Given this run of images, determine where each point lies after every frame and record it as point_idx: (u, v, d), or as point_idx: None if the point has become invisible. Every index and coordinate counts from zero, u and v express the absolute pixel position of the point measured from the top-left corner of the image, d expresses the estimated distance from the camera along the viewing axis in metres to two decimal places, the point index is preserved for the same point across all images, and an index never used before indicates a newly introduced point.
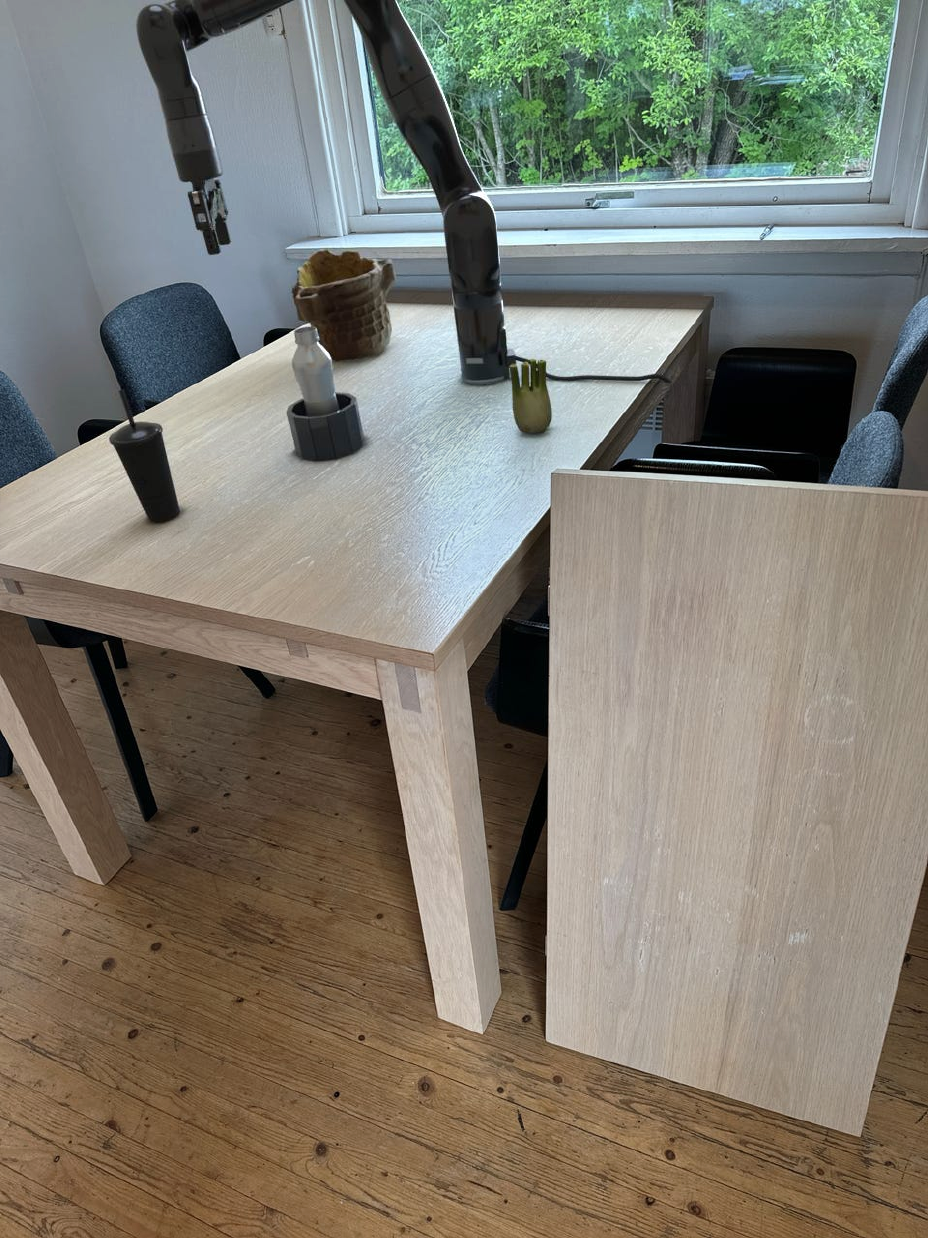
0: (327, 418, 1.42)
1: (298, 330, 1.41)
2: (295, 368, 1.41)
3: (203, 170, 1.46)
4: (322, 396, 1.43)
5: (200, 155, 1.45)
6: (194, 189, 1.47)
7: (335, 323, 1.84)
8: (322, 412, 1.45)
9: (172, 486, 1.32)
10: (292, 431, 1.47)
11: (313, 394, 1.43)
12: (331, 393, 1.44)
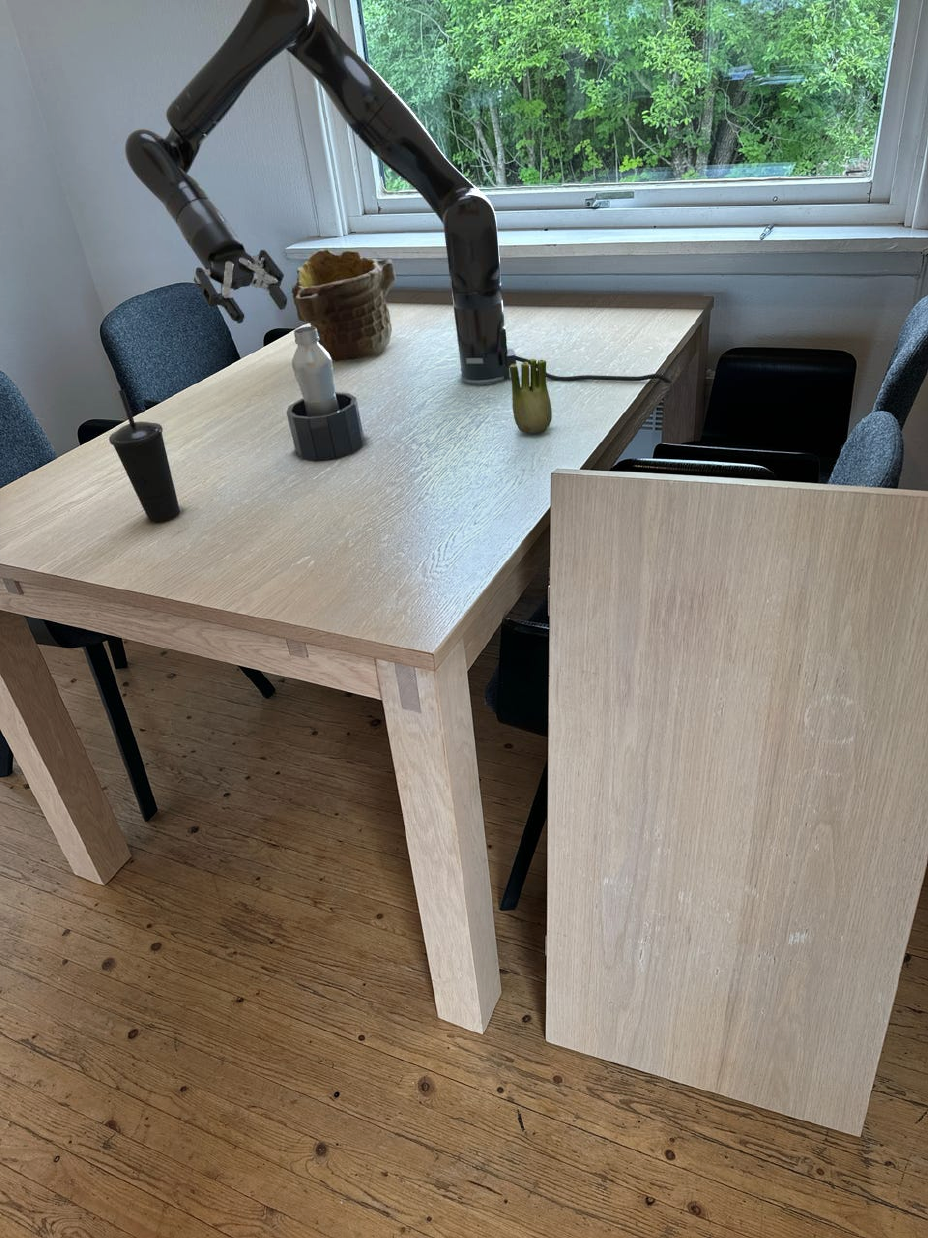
0: (327, 418, 1.42)
1: (298, 330, 1.41)
2: (295, 368, 1.41)
3: (204, 249, 1.43)
4: (322, 396, 1.43)
5: (197, 238, 1.44)
6: None
7: (335, 323, 1.84)
8: (322, 412, 1.45)
9: (172, 486, 1.32)
10: (292, 431, 1.47)
11: (313, 394, 1.43)
12: (331, 393, 1.44)
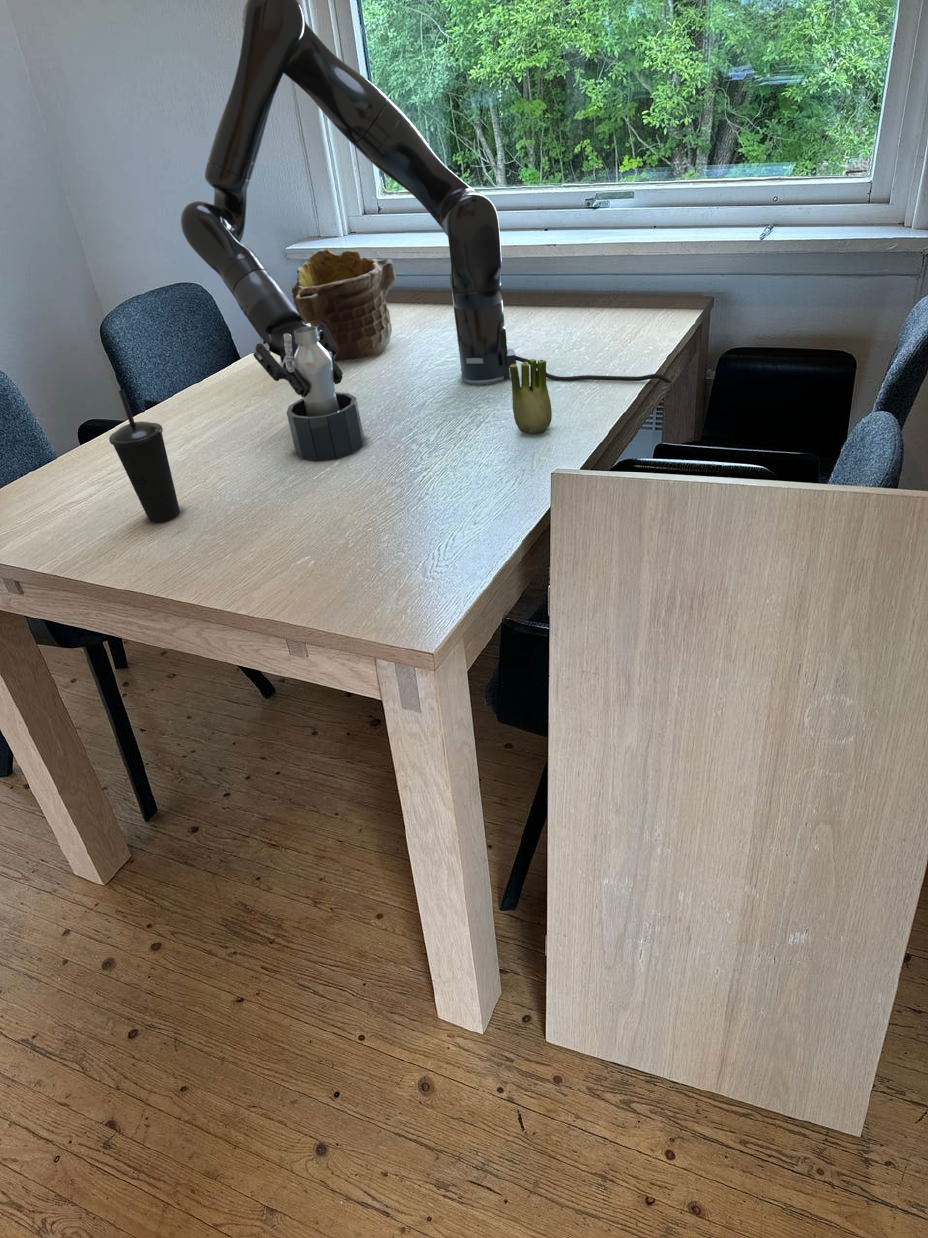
0: (327, 418, 1.42)
1: (298, 330, 1.41)
2: (295, 368, 1.41)
3: (262, 322, 1.41)
4: (322, 396, 1.43)
5: (255, 310, 1.41)
6: None
7: (335, 323, 1.84)
8: (322, 412, 1.45)
9: (172, 486, 1.32)
10: (292, 431, 1.47)
11: (314, 394, 1.43)
12: (331, 393, 1.44)
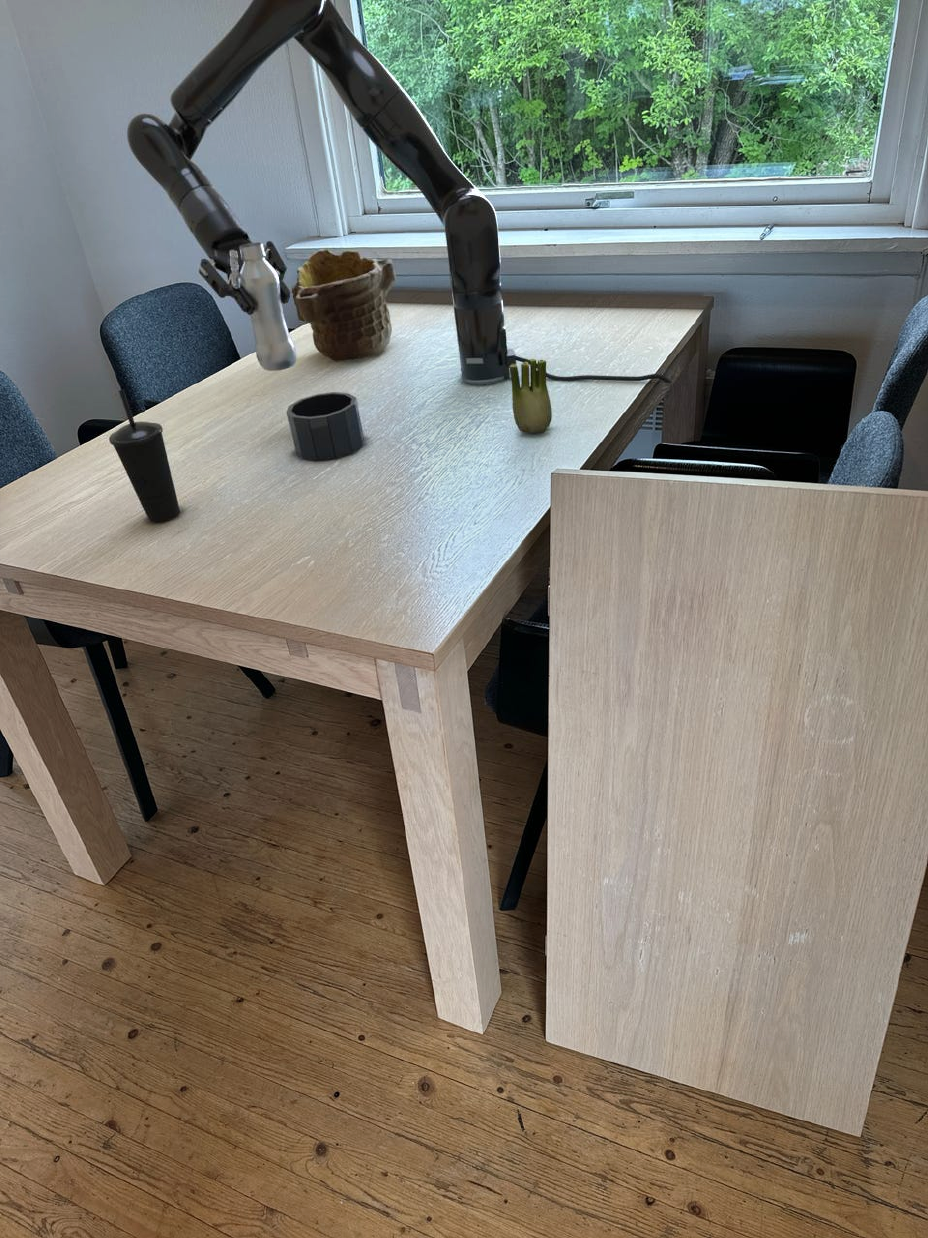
0: (327, 418, 1.42)
1: (244, 246, 1.39)
2: (241, 284, 1.40)
3: (207, 237, 1.40)
4: (269, 314, 1.42)
5: (200, 226, 1.40)
6: None
7: (335, 323, 1.84)
8: (270, 331, 1.43)
9: (172, 486, 1.32)
10: (292, 431, 1.47)
11: (260, 312, 1.42)
12: (278, 312, 1.43)
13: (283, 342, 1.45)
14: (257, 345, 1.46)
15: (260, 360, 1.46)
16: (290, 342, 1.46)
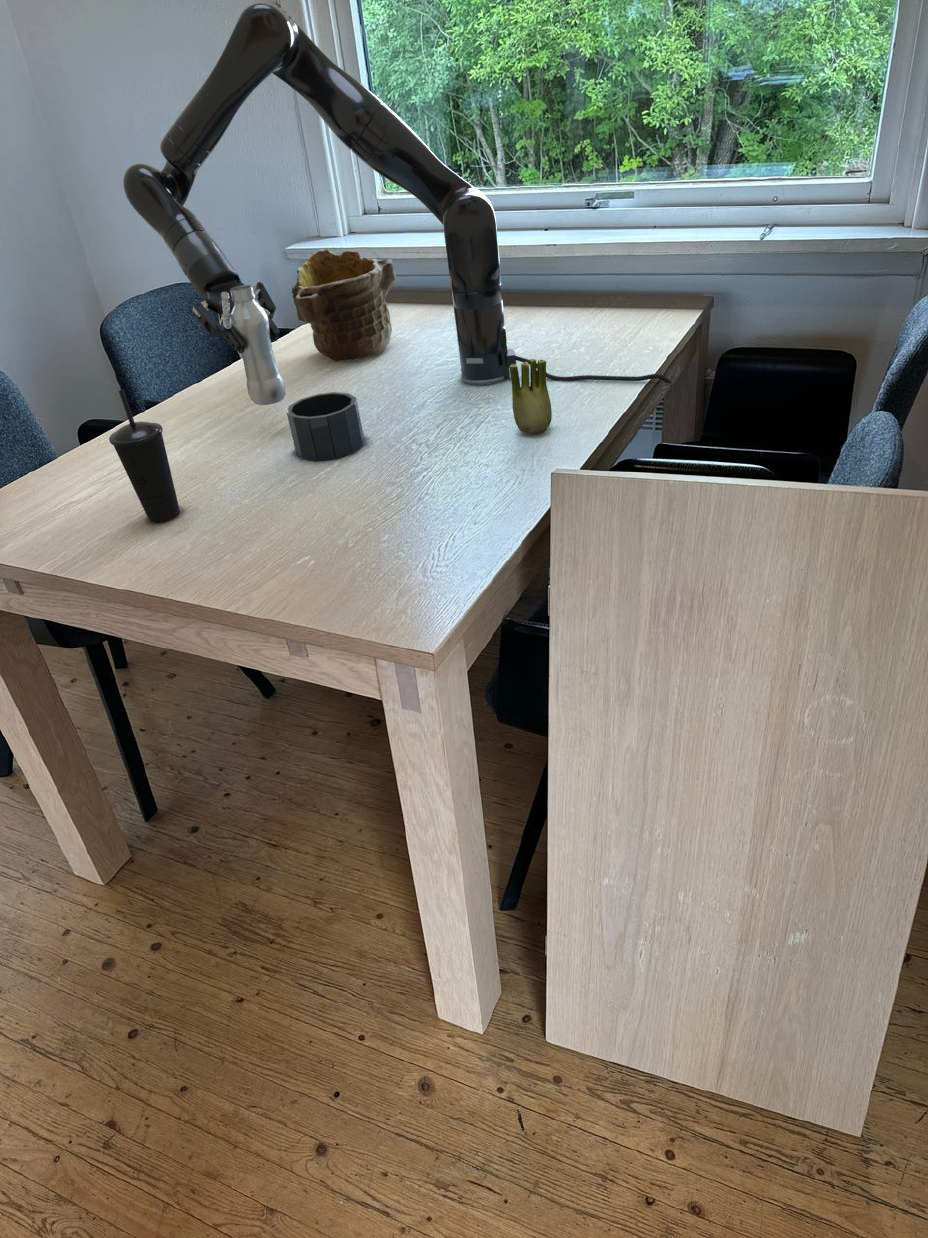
0: (327, 418, 1.42)
1: (235, 288, 1.46)
2: (232, 325, 1.47)
3: (200, 280, 1.47)
4: (259, 352, 1.49)
5: (193, 269, 1.47)
6: None
7: (335, 323, 1.84)
8: (260, 368, 1.51)
9: (172, 486, 1.32)
10: (292, 431, 1.47)
11: (250, 351, 1.49)
12: (268, 350, 1.50)
13: (273, 378, 1.52)
14: (248, 381, 1.53)
15: (251, 395, 1.54)
16: (279, 378, 1.53)
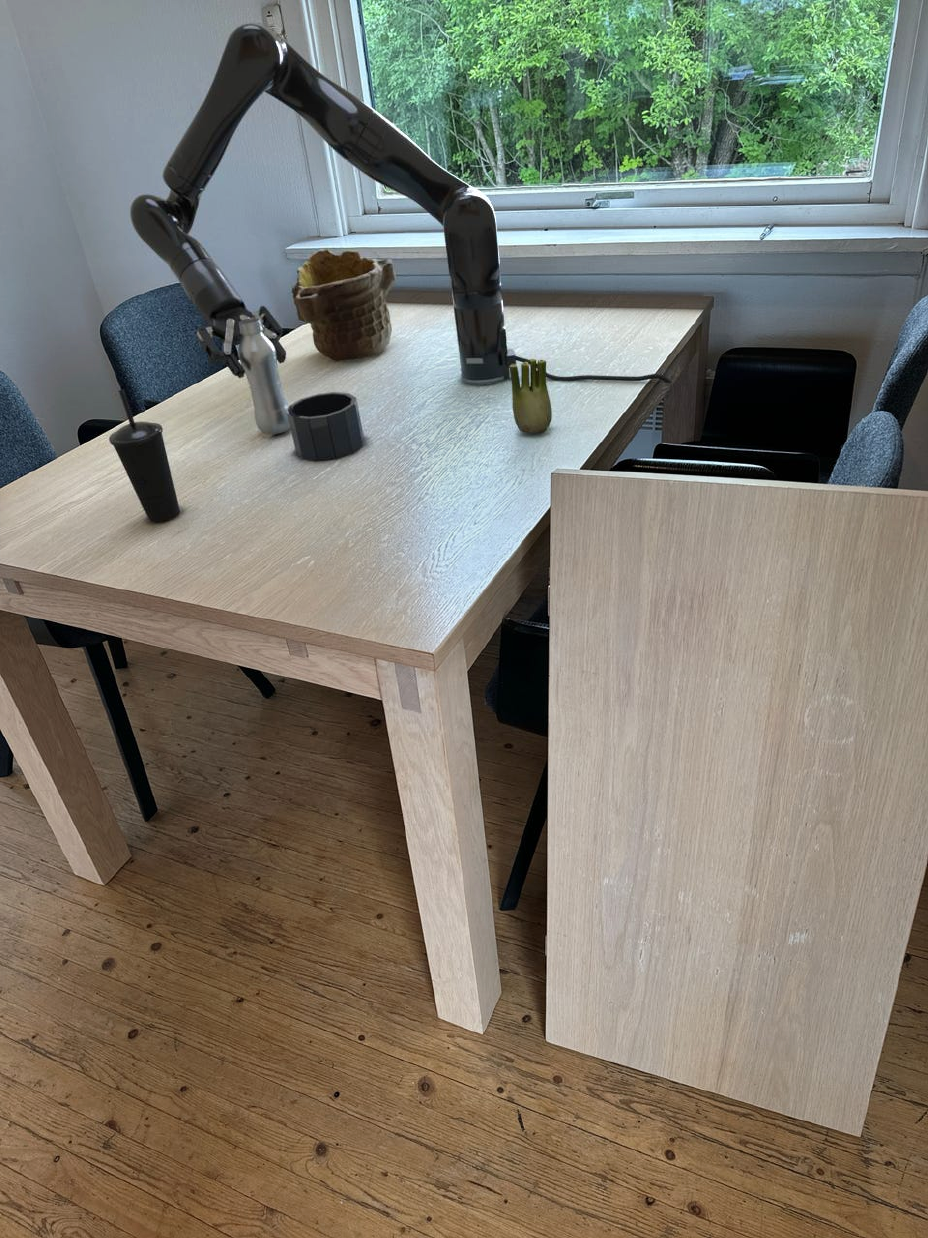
0: (327, 418, 1.42)
1: (243, 321, 1.50)
2: (240, 357, 1.50)
3: (206, 308, 1.50)
4: (267, 383, 1.52)
5: (199, 297, 1.50)
6: None
7: (335, 323, 1.84)
8: (267, 398, 1.54)
9: (172, 486, 1.32)
10: (292, 431, 1.47)
11: (258, 382, 1.52)
12: (275, 381, 1.53)
13: (280, 408, 1.55)
14: (256, 411, 1.56)
15: (258, 424, 1.57)
16: (286, 408, 1.56)
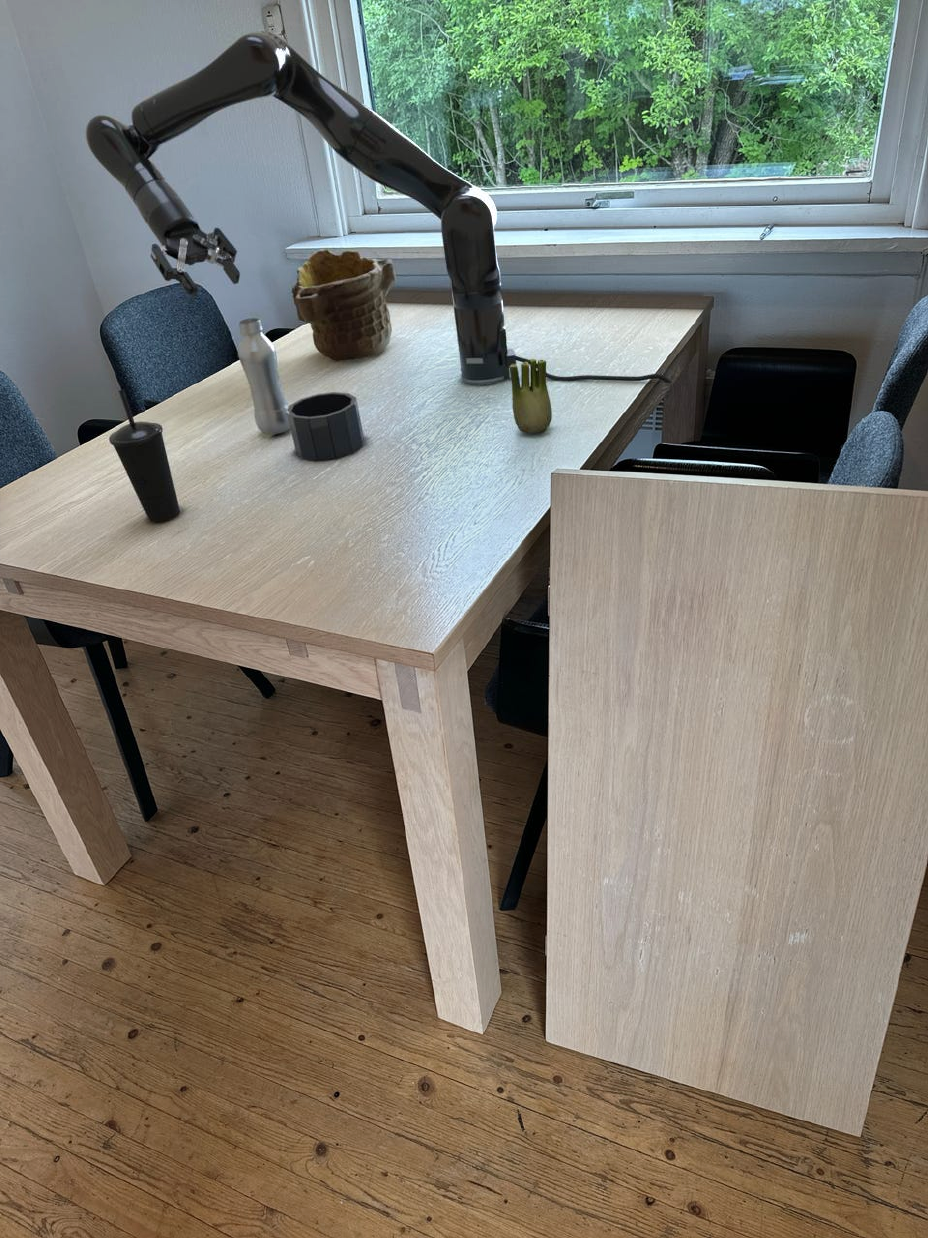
0: (327, 418, 1.42)
1: (243, 321, 1.50)
2: (240, 357, 1.50)
3: (160, 227, 1.52)
4: (267, 383, 1.52)
5: (153, 216, 1.52)
6: None
7: (335, 323, 1.84)
8: (267, 398, 1.54)
9: (172, 486, 1.32)
10: (292, 431, 1.47)
11: (258, 382, 1.52)
12: (275, 381, 1.53)
13: (280, 408, 1.55)
14: (256, 411, 1.56)
15: (258, 424, 1.57)
16: (286, 408, 1.56)
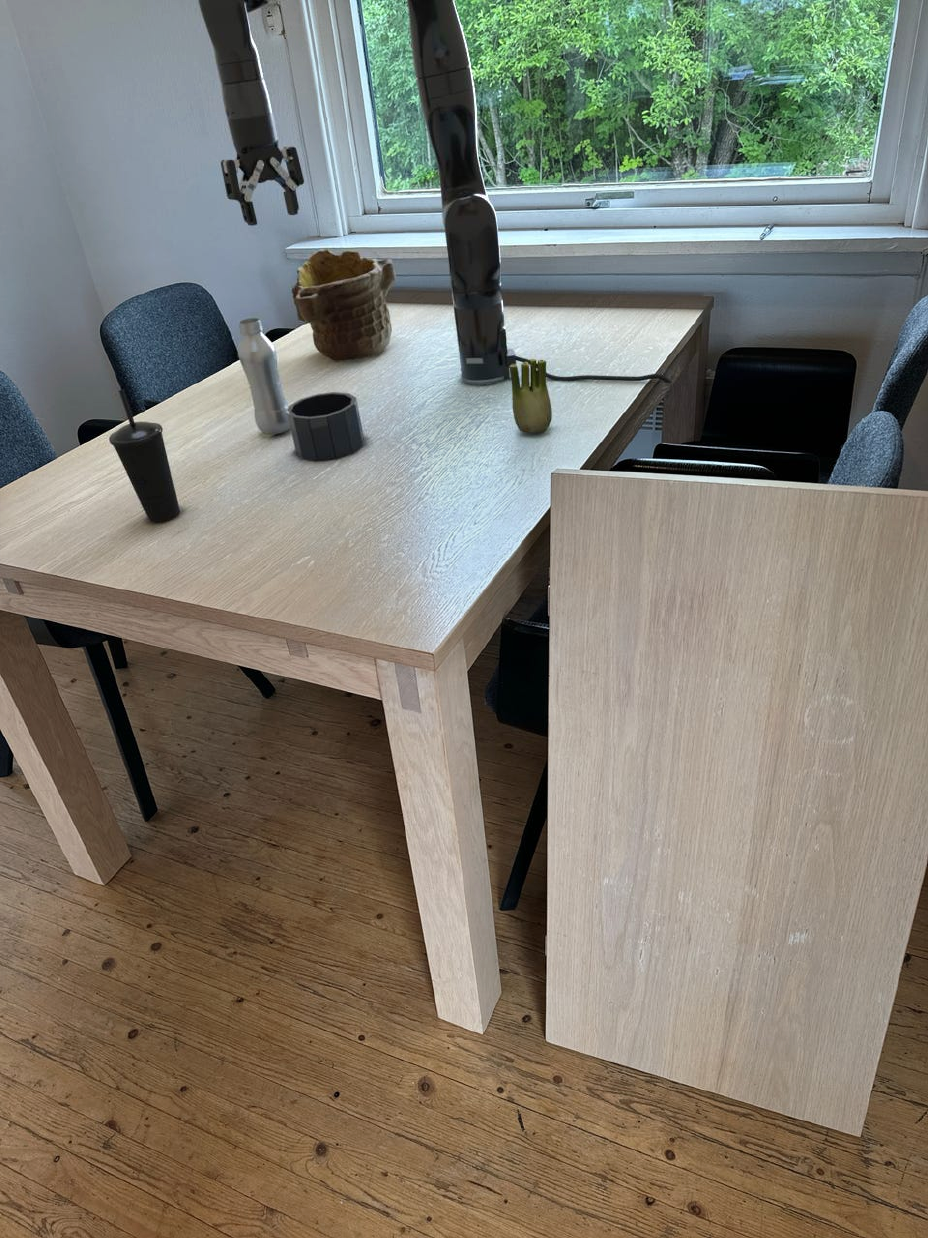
0: (327, 418, 1.42)
1: (243, 321, 1.50)
2: (240, 357, 1.50)
3: (242, 139, 1.42)
4: (267, 383, 1.52)
5: (239, 123, 1.41)
6: None
7: (335, 323, 1.84)
8: (267, 398, 1.54)
9: (172, 486, 1.32)
10: (292, 431, 1.47)
11: (258, 382, 1.52)
12: (275, 381, 1.53)
13: (280, 408, 1.55)
14: (256, 411, 1.56)
15: (258, 424, 1.57)
16: (286, 408, 1.56)
